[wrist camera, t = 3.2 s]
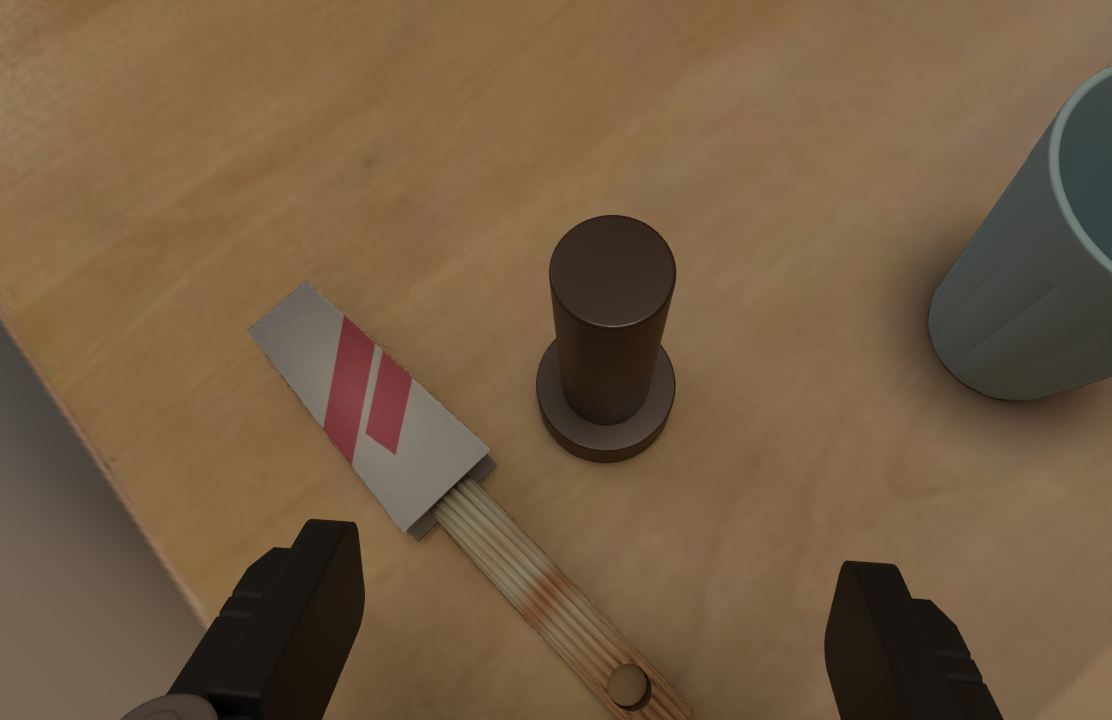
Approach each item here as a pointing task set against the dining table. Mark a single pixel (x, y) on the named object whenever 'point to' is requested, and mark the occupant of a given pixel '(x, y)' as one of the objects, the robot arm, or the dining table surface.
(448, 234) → the dining table surface
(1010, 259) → the cup
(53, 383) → the dining table surface
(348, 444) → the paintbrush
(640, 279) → the grey brown flanged cylinder
